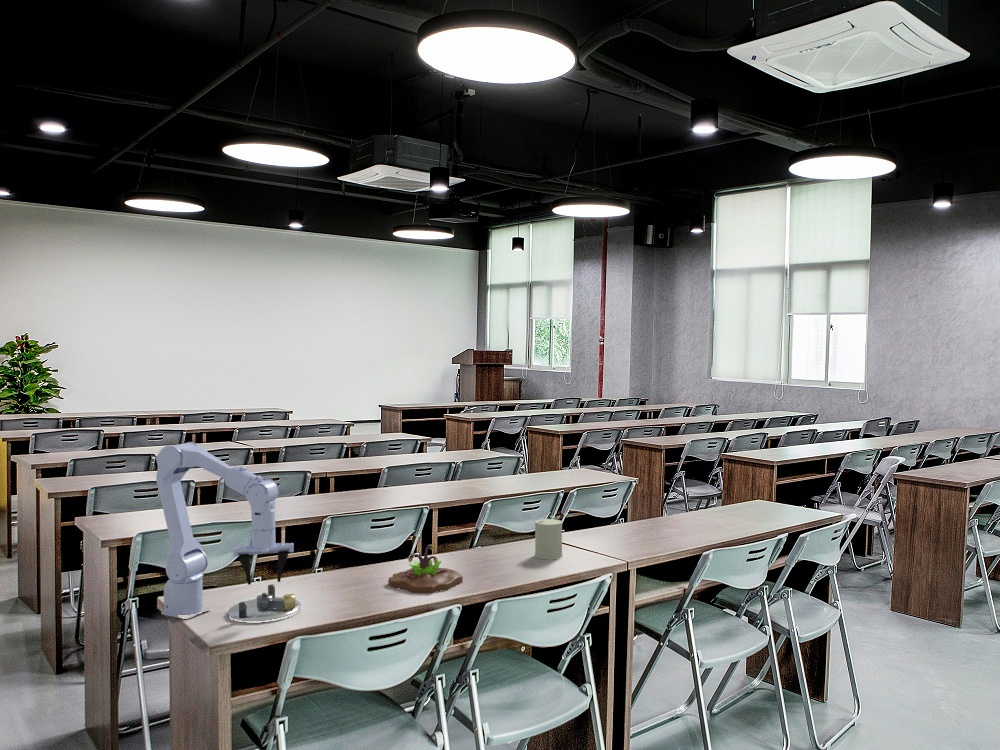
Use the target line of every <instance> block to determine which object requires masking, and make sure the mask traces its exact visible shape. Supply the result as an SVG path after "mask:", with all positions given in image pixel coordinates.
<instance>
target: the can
mask: <svg viewBox="0 0 1000 750" xmlns="http://www.w3.org/2000/svg"><path fill="white" fill-rule="evenodd" d="M534 534H535V535H534V537H535V539H534V540H535V541H534V542H535V544H534V545H535V547H534V549H535V551H534V553H535V554H534V557H535V558H536V559H539V560H544V559H546V560H547V559H549V560H548V561H551V560H550V559H554V560H558V559H557V558H559V559H561V558H560V557H562V558H563V557H564V554H563V521H562V520H560V519H556V518H542V519H537V520H535V521H534Z"/></svg>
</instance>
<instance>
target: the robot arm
mask: <svg viewBox="0 0 1000 750" xmlns="http://www.w3.org/2000/svg"><path fill="white" fill-rule="evenodd" d="M155 459H156V464H157V469H156V477H155V479H156V485H157V489H158V493H159V497H160V498H159V499H160V501H161V502H160V503H161V507H162V510H163V515H164V519H165V522H166V529H167V532H168V537H169V540H170V545H171V546H170V548H169V549H168V551H167V552H166V554H165V558H166V566H165V573H166V576H167V577H168V580H167V581H166V583H165V585H164V588H163V611H162V612H160V613H161V615H163V616H168V617H172V618H177V619H179V618H178V615H191V614H196V613H199V612H201V611H202V610H203V607H204V605H203V604H204V603H203V601H204V600H203V596H204V595H203V593H204V592H203V577H204V572H205V571H206V569H207V568H208V564H209V559H208V556H207V554H206V553H205V552H204V550H203V547H202V544H201V543H200V542H199V541H198V540H196V539H195V538H194V535H193V534H194V533H193V530H192V526H191V522H190V521H191V520H190V517H189V514H188V509H187V504H186V499H185V495H184V491H183V487H182V483H181V481H182V479H183V478H184V476H185V475H186V474H187V472H188V471H190V470H191V469H192V468H193V467H198V468H201V469H203V470H206V471H207V472H209V473H211V474H213V475H215V476H217V477H219V478H221V479H224V483H225V486H226V487H228V488H230V489H232V490H234V491H235V492H237V493H239V494H241V495H243V496H244V497H245V498H246V500H247V502H248V503H249V504H250V505H249V506H250V510H251V511H250V512H251V544H250V545H249V544H248V545H243V546H235V547H232V550H233V551H232V556H233V558H235V557H239V558H238V561H239V564H241V566H242V568H243V570H244V573H245V576H246V580H247V585H252V575H251V574H252V573H251V556H253V555H261V554H262V555H266V554H277V576H276V579H277V581H276V582H277V583H281V578H282V573H283V569H284V567H285V564H286V562H287V560H288V557H289V553H295V551H294V548H295V547H294V546H295V545H294V542H290V543H289V542H276V499H278V497H279V494H280V488H279V485H278V483H277V482H275V481H274V480H273V479H272V478H266V479H263V476H261V475H256V474H255V473H253V472H250V471H248V470H247V469H248V468H247V466H245V465H242V466H239V465H236V466H234V467H233V466H231V465H229V464H227V463H226V462H224V461H222V460H221V459H220V458H218V457H217V456H215V455H213V454H212V453H210V452H208V451H207V450H206V449H205V447H204V446H203V445H202V446H201V445H199V444H197V443H195V442H193V441H188V442H185V443H180V444H173V445H172V444H171V445H169V444H168V445H166V446H164V447H162V449H160V451H159V452H158V454H157V455H156V456H155Z"/></svg>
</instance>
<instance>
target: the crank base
mask: <svg viewBox="0 0 1000 750" xmlns="http://www.w3.org/2000/svg"><path fill="white" fill-rule="evenodd" d="M268 594H271V595H273V598H280V599H283V597H282V596H281V597H280V596H279V597H278V596H276V584H268V585H267V592H262V593H261V595H262V596H263V597H265V596H268ZM301 605H302V604H301V602H300V601H298V600H296V599H295V609H292V610H284V609H275V608H267V609H259V608H257V598H254V599H249V600H244V601H240V602H238V603H236V604H235V605H233V606H232V607H230V608H229V609H228V612H227V613H228V614H229V616H230V617H231V618H233V619H237V620H242V621H265V620H272V619H277V618H281V617H285V616H288V615H291V614H293V613H295V612H297V611H298V610H299V609H300V607H302V606H301ZM228 614H227V615H228Z"/></svg>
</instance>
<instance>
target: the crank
mask: <svg viewBox="0 0 1000 750" xmlns="http://www.w3.org/2000/svg"><path fill="white" fill-rule="evenodd" d="M256 599H257V608H259V609H267V608H275V609H284V610H292V609H295V600H296V594H294V593H288V594H284V595H283V599H280V598H273V595H271V594H268V596H265V597H263V596H262V594H260V595H257V596H256Z"/></svg>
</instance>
